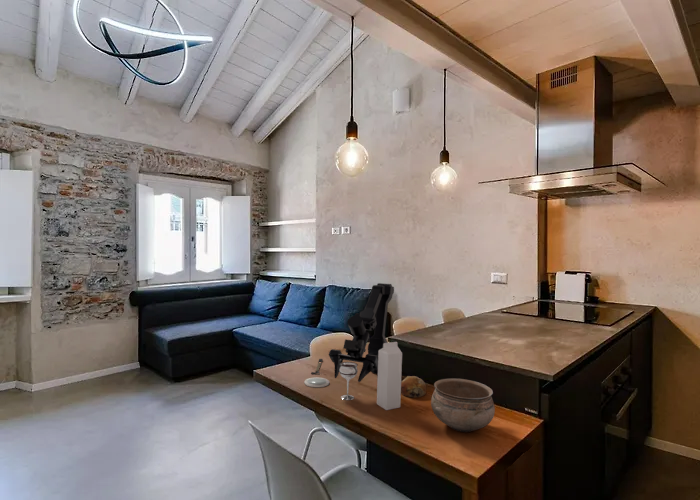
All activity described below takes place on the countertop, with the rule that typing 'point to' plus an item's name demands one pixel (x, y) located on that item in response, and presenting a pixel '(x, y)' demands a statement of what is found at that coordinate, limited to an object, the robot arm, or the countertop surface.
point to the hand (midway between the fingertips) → (346, 379)
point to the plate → (316, 382)
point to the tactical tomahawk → (317, 367)
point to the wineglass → (348, 375)
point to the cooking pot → (463, 404)
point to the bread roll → (413, 387)
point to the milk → (389, 376)
